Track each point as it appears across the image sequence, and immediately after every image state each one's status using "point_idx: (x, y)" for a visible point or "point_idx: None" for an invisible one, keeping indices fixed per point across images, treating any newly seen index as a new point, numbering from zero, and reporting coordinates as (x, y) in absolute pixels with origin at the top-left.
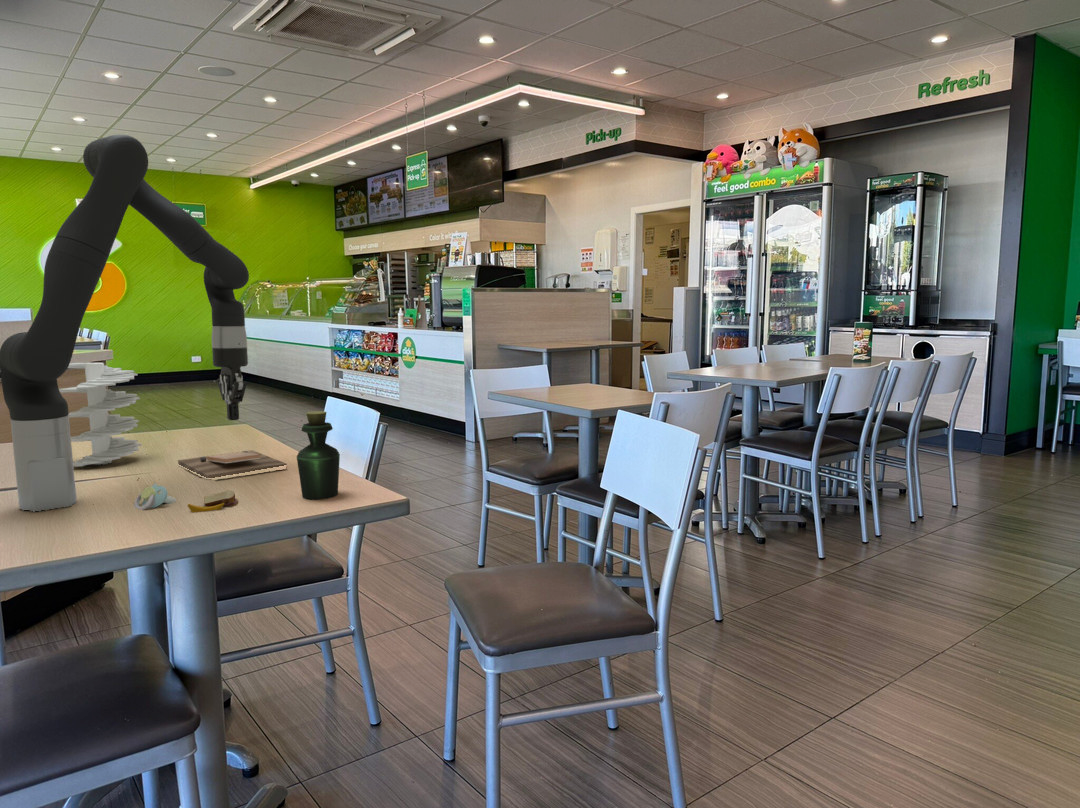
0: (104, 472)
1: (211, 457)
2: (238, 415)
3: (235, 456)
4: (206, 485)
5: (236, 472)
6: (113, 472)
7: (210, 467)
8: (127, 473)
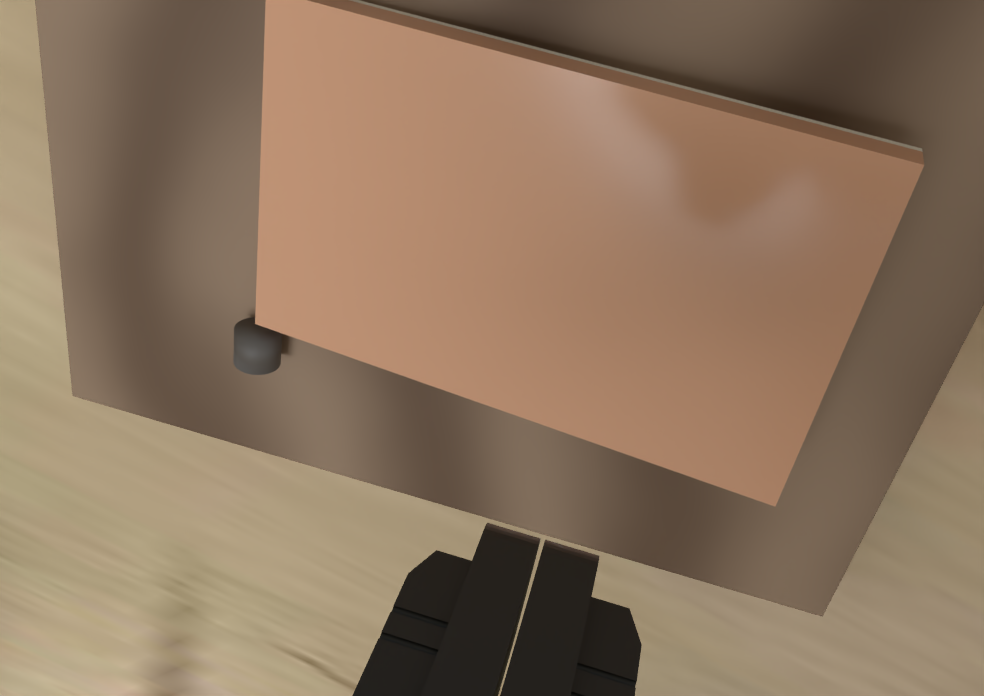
0: (14, 643)
1: (367, 360)
2: (590, 606)
3: (686, 342)
4: (906, 636)
5: (916, 425)
6: (44, 627)
7: (558, 444)
8: (122, 615)
